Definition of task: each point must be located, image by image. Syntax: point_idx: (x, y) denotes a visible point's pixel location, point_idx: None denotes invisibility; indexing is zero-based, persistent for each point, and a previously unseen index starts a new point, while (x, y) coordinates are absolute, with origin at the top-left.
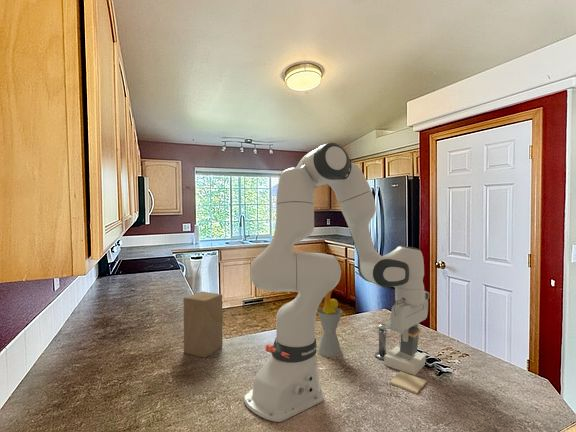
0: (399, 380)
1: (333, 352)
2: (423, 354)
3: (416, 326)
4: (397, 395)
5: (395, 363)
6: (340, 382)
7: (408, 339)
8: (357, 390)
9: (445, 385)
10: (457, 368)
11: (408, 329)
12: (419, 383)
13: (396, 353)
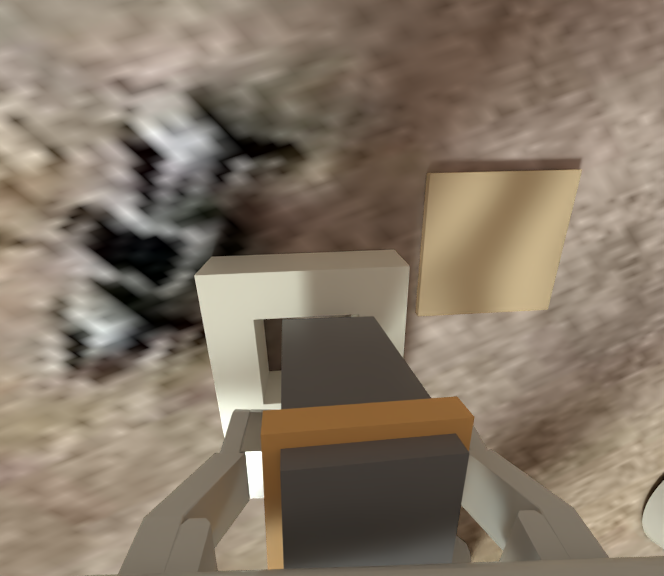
0: (511, 281)
1: (457, 556)
2: (202, 289)
3: (198, 516)
4: (626, 237)
5: None
6: (626, 431)
7: None
8: (656, 367)
9: (392, 68)
10: (93, 69)
11: (531, 535)
12: (485, 193)
13: None
